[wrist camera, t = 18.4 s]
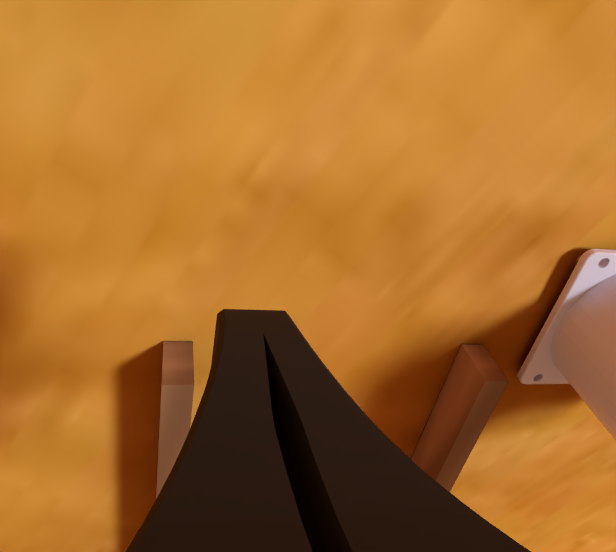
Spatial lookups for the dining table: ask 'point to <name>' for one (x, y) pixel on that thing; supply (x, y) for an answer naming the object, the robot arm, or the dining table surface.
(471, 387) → the cart frame
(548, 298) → the dining table surface
